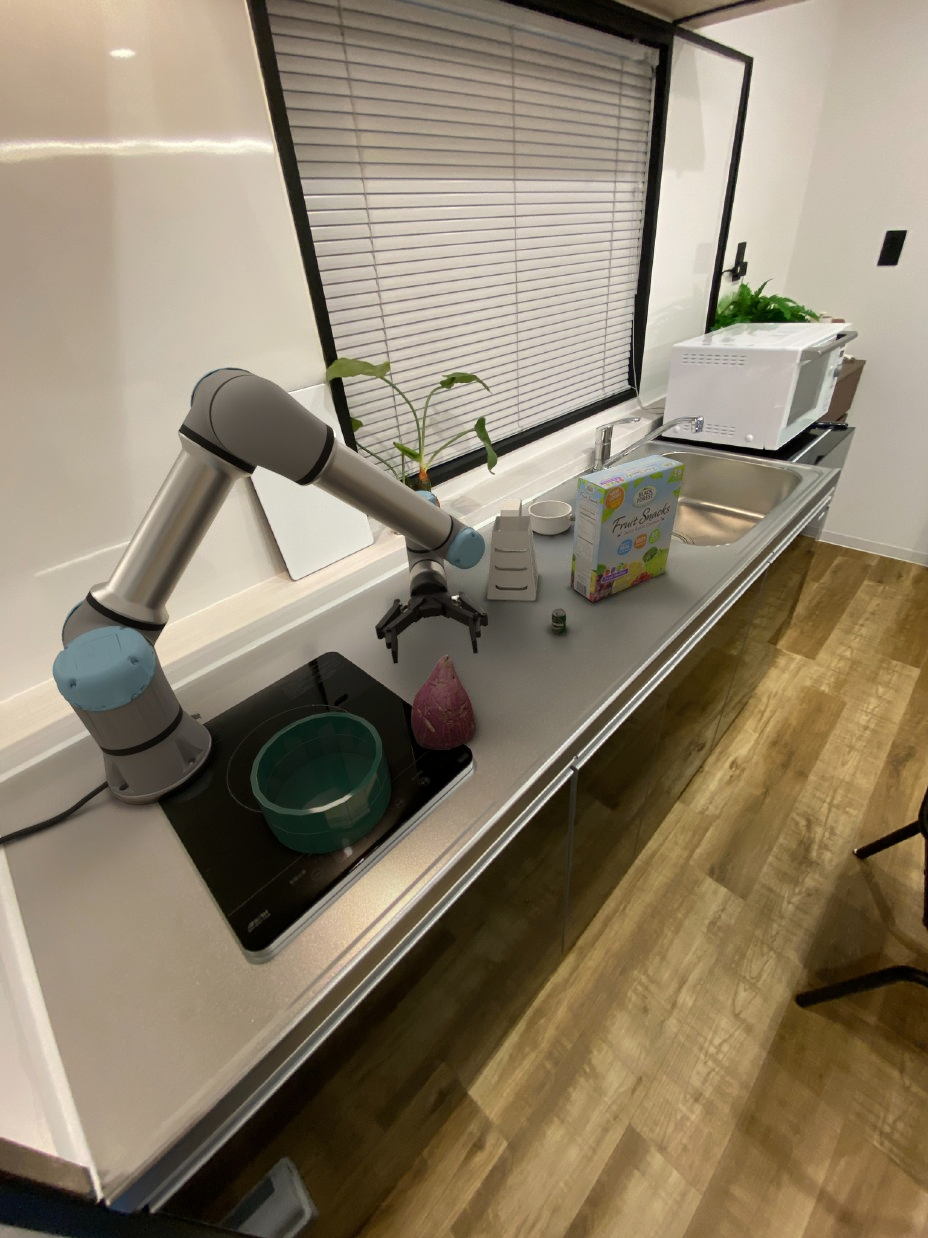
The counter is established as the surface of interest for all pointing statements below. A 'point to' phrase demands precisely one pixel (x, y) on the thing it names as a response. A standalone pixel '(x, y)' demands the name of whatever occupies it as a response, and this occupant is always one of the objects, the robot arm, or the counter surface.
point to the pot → (322, 782)
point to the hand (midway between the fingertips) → (435, 652)
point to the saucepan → (550, 517)
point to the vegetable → (442, 710)
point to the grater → (512, 554)
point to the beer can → (558, 621)
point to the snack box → (624, 525)
